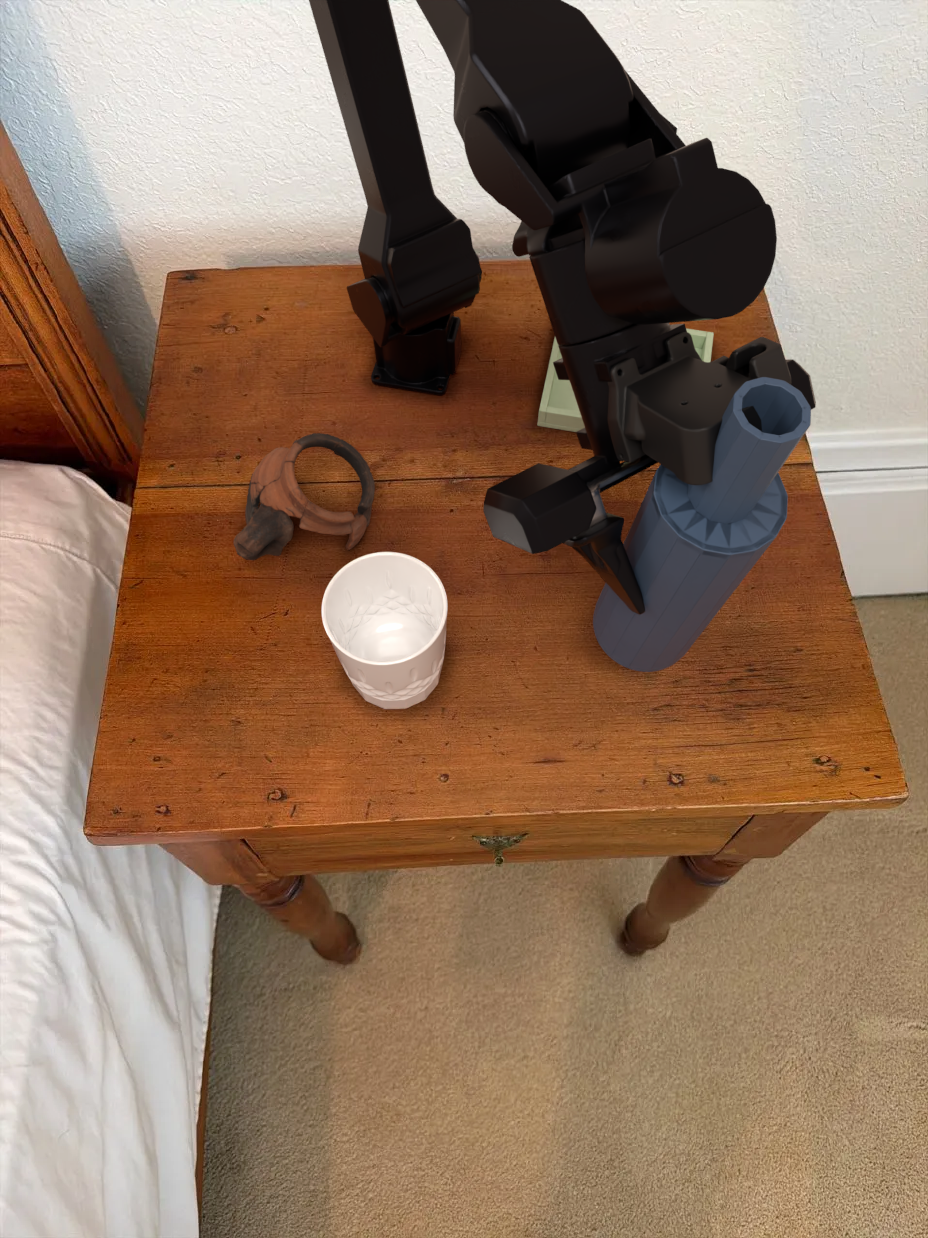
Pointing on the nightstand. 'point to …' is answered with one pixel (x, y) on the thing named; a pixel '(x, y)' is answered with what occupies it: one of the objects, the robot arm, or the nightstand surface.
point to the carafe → (704, 531)
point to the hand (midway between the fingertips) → (688, 583)
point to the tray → (559, 395)
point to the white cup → (388, 627)
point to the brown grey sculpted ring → (298, 501)
